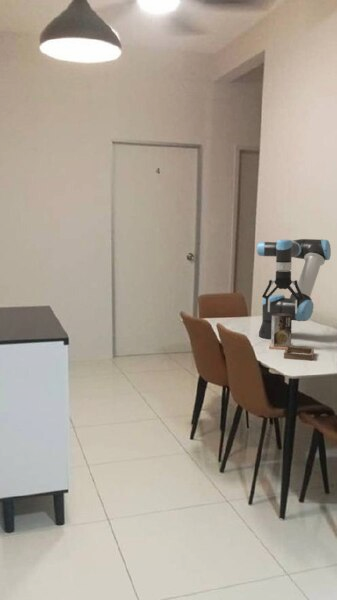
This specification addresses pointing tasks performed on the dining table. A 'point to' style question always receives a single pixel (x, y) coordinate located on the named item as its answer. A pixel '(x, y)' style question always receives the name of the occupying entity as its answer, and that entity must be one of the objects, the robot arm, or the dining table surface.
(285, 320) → the coffee box
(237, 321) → the dining table surface
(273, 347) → the terracotta tile
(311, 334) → the dining table surface
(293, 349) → the tray
